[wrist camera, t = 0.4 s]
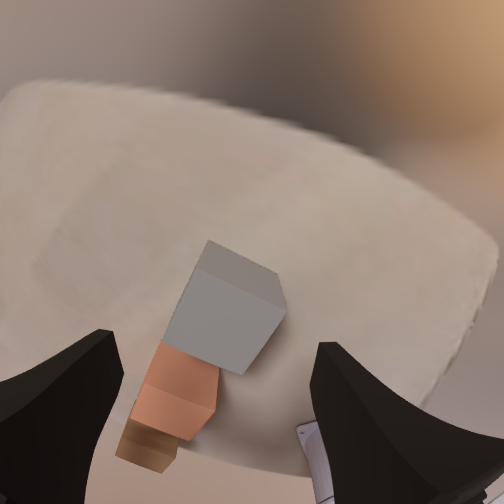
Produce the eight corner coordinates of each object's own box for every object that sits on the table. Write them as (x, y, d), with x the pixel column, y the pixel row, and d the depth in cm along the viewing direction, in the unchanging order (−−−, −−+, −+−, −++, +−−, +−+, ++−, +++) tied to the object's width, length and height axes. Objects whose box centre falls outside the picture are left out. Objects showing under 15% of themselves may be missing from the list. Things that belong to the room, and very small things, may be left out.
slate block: (277, 273, 19) (287, 311, 14) (242, 328, 20) (241, 375, 15) (208, 239, 18) (196, 268, 13) (179, 300, 19) (161, 342, 14)
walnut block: (183, 418, 23) (175, 458, 19) (169, 438, 25) (161, 473, 20) (136, 398, 22) (121, 437, 18) (127, 421, 24) (114, 455, 19)
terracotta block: (219, 363, 21) (215, 410, 16) (197, 397, 22) (190, 441, 18) (161, 338, 20) (144, 382, 15) (145, 376, 21) (129, 417, 17)
